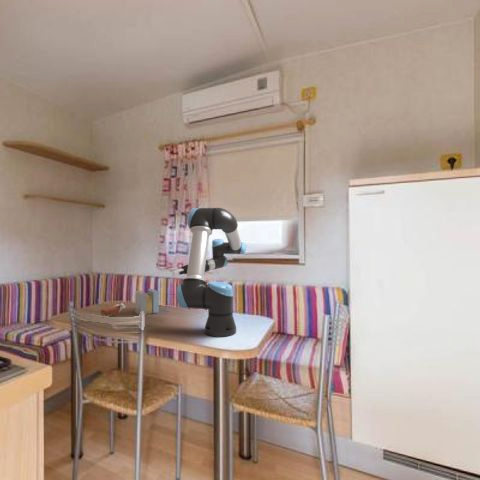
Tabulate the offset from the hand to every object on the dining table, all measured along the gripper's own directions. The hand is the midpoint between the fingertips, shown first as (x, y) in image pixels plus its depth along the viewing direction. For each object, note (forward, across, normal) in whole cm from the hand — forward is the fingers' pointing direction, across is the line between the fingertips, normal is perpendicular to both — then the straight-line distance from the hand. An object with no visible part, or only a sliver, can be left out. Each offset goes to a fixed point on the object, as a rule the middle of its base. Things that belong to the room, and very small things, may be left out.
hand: (173, 273), depth 174 cm
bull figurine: (+35, +2, -20) cm, 41 cm away
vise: (+14, -2, -22) cm, 26 cm away
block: (+17, -1, -20) cm, 27 cm away
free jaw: (+13, -1, -21) cm, 25 cm away
